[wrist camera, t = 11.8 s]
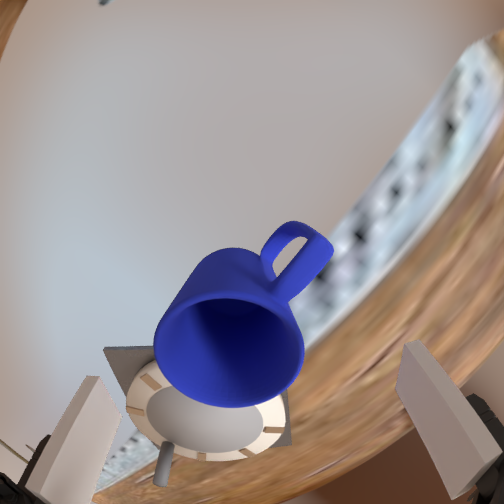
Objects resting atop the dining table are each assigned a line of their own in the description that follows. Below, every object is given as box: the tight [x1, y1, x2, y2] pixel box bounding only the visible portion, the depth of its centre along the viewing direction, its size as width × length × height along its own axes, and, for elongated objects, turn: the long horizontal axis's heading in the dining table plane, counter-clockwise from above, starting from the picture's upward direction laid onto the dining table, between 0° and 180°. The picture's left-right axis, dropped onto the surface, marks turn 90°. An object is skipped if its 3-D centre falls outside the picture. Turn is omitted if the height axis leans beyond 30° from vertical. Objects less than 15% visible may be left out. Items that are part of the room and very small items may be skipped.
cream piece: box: [126, 360, 286, 487], centre depth 25 cm, size 17×17×8 cm
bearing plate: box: [103, 346, 292, 450], centre depth 28 cm, size 18×18×3 cm
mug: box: [153, 221, 334, 408], centre depth 19 cm, size 8×12×10 cm
